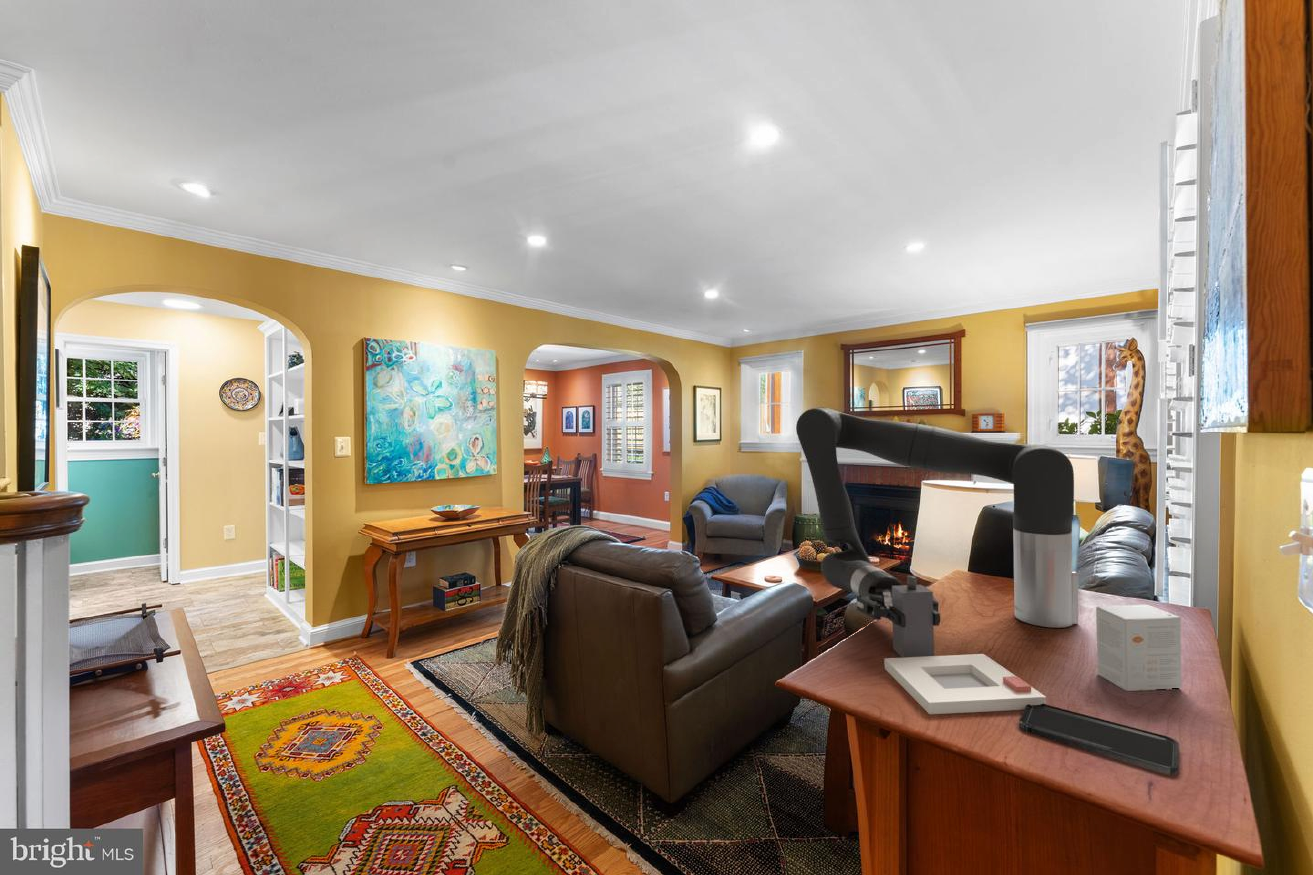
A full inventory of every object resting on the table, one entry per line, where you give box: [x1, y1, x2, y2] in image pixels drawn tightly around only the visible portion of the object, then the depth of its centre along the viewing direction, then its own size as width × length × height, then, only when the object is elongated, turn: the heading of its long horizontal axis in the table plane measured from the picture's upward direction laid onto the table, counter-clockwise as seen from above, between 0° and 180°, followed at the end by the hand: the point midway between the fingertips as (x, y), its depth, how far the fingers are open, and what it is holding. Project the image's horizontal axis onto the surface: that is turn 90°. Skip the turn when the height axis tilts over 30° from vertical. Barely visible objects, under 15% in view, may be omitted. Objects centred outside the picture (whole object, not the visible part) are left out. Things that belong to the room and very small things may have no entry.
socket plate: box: [883, 653, 1047, 715], centre depth 83 cm, size 16×14×2 cm
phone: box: [1018, 703, 1180, 776], centre depth 69 cm, size 8×1×15 cm
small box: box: [1095, 604, 1182, 692], centre depth 82 cm, size 8×6×10 cm
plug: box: [892, 575, 935, 658], centre depth 95 cm, size 5×4×13 cm
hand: (920, 620), depth 92 cm, fingers closed on plug, 5 cm apart
